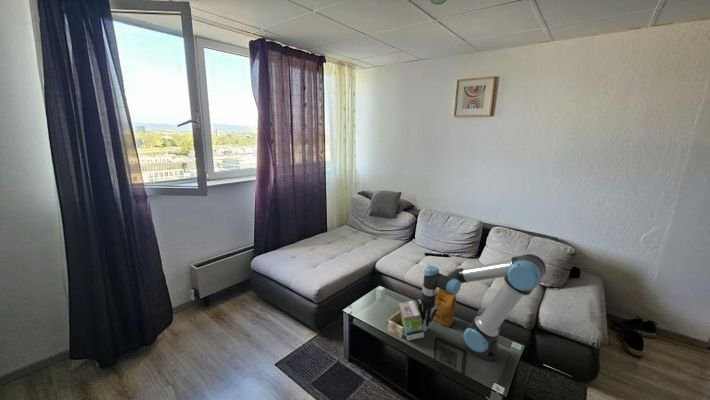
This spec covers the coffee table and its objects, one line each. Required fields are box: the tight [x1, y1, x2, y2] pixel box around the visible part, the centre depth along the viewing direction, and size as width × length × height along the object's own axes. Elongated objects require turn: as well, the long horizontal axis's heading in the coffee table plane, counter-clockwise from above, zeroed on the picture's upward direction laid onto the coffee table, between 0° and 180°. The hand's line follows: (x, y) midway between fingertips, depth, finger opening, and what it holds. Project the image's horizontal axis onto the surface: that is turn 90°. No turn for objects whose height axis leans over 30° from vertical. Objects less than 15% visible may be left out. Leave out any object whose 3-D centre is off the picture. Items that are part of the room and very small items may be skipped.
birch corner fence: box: [384, 309, 404, 338], centre depth 173 cm, size 11×19×6 cm, turn 140°
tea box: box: [398, 300, 425, 341], centre depth 167 cm, size 15×10×15 cm, turn 3°
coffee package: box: [432, 288, 457, 328], centre depth 179 cm, size 10×12×22 cm
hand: (424, 329), depth 166 cm, fingers closed
